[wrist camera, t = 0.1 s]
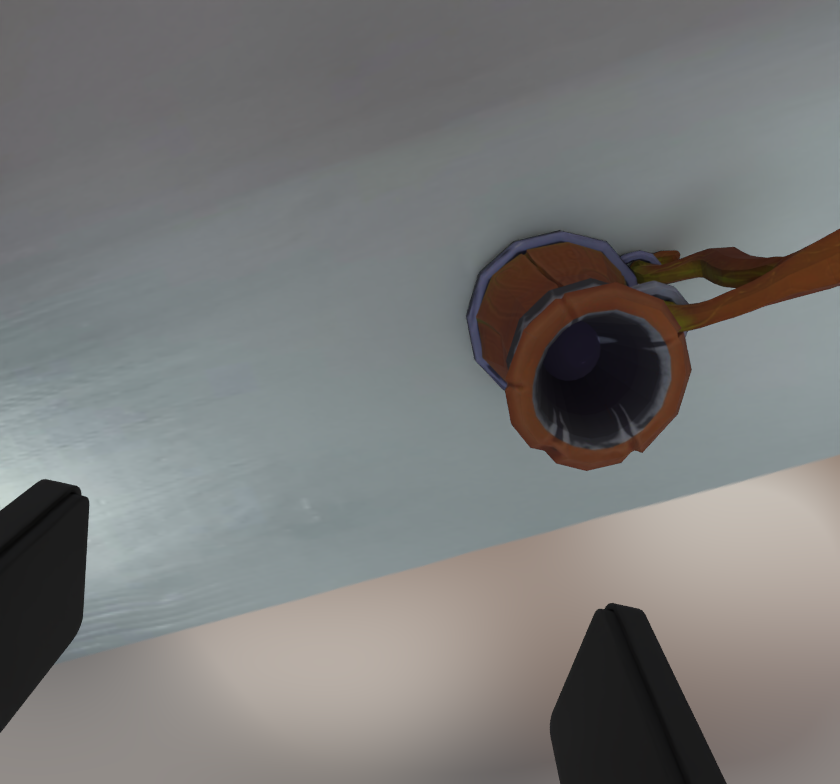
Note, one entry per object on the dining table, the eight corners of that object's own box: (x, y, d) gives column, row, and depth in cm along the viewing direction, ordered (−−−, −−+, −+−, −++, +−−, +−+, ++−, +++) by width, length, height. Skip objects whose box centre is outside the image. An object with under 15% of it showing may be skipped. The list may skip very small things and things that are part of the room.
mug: (692, 140, 36) (854, 117, 22) (752, 303, 40) (927, 373, 26) (434, 281, 40) (433, 338, 26) (509, 421, 43) (545, 540, 29)
